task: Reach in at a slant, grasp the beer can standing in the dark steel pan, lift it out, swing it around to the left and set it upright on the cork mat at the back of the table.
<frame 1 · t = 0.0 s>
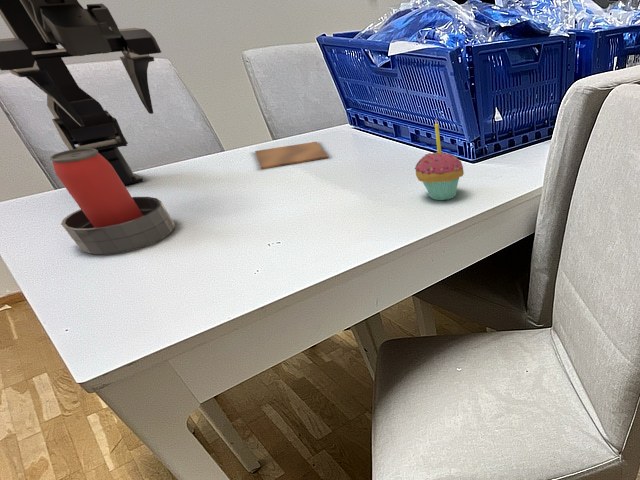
hand: (117, 119, 68), 15 cm above the table, tool pointing down, fingers open, 9 cm apart
pan: (129, 236, 72), on the table
cork mat: (291, 155, 102), on the table
cupcake: (444, 196, 82), on the table
beer can: (129, 236, 72), resting on pan
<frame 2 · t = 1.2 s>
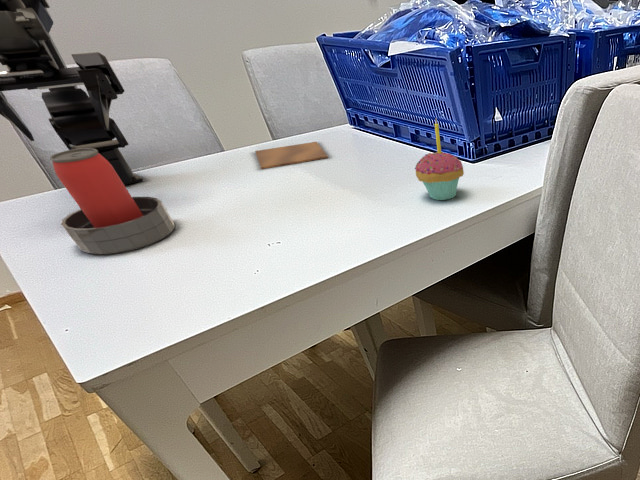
hand: (69, 133, 67), 13 cm above the table, tool tilted 45°, fingers open, 9 cm apart
nothing on the table moved.
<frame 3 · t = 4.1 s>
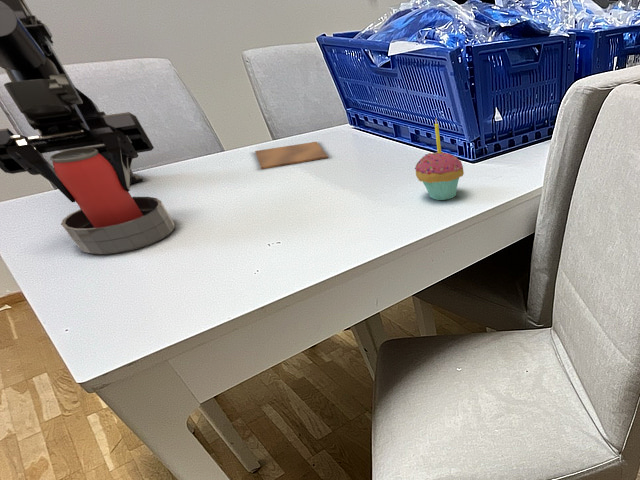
hand: (100, 195, 66), 7 cm above the table, tool tilted 45°, fingers closed on beer can, 6 cm apart
beer can: (129, 236, 72), resting on pan, touching gripper
everything else where it was.
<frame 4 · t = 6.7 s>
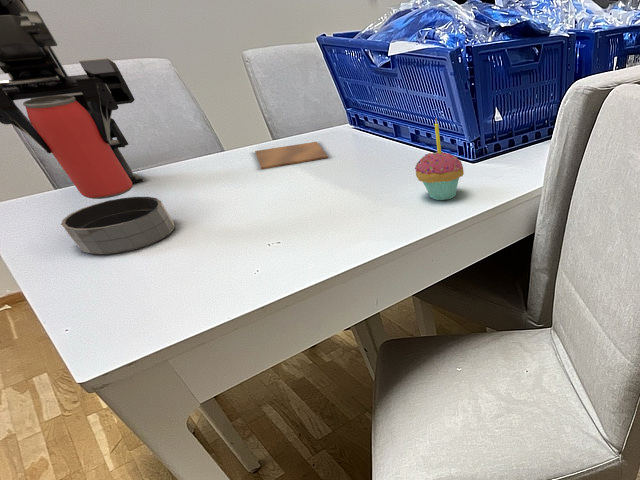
hand: (78, 146, 63), 13 cm above the table, tool tilted 45°, fingers closed on beer can, 6 cm apart
beer can: (110, 193, 68), point 6 cm above the table, touching gripper
everything else where it was.
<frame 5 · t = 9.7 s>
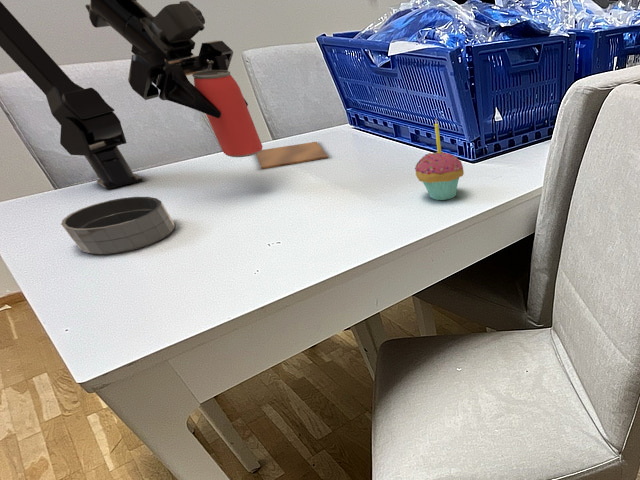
hand: (233, 111, 77), 13 cm above the table, tool tilted 45°, fingers closed on beer can, 6 cm apart
beer can: (245, 154, 82), point 6 cm above the table, touching gripper
everything else where it was.
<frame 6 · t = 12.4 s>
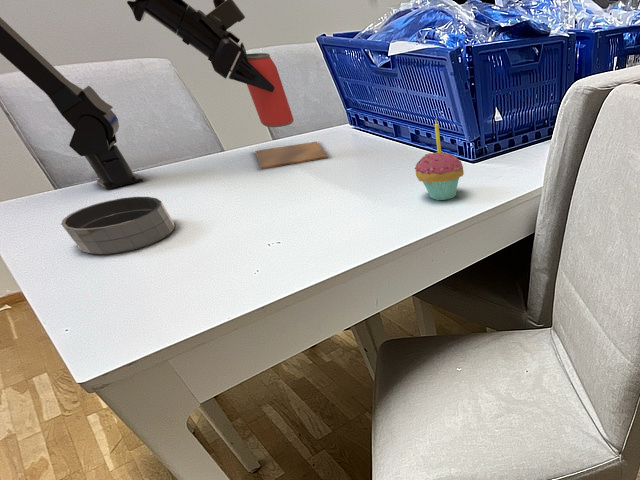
hand: (272, 87, 92), 13 cm above the table, tool tilted 45°, fingers closed on beer can, 6 cm apart
beer can: (279, 125, 97), point 6 cm above the table, touching gripper
everything else where it was.
when the fingers open (7 cm above the table, at t = 15.3 s): beer can stays where it is, resting on cork mat.
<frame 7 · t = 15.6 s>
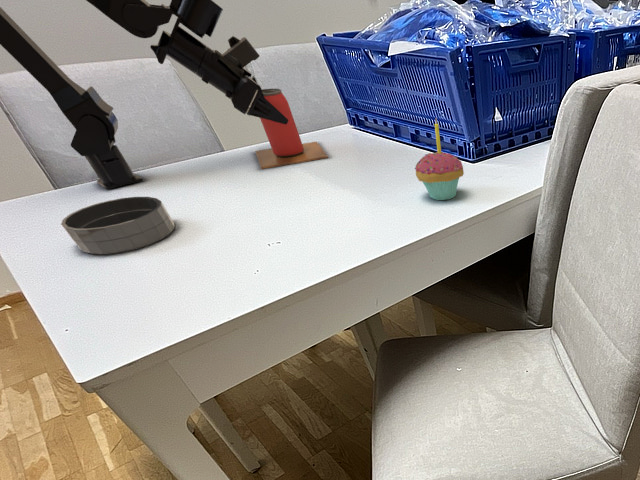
hand: (284, 118, 98), 7 cm above the table, tool tilted 45°, fingers open, 9 cm apart
beer can: (290, 154, 102), resting on cork mat
everything else where it was.
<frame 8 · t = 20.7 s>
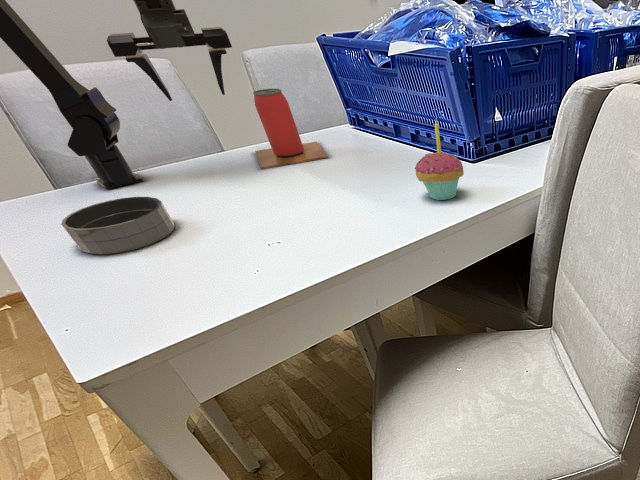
hand: (197, 97, 87), 13 cm above the table, tool pointing down, fingers open, 9 cm apart
nothing on the table moved.
at the end: beer can inside the target area on the cork mat (0.1 cm from its centre), point 0.2 cm above the cork mat's base; beer can tilted 0°; beer can touching cork mat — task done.
